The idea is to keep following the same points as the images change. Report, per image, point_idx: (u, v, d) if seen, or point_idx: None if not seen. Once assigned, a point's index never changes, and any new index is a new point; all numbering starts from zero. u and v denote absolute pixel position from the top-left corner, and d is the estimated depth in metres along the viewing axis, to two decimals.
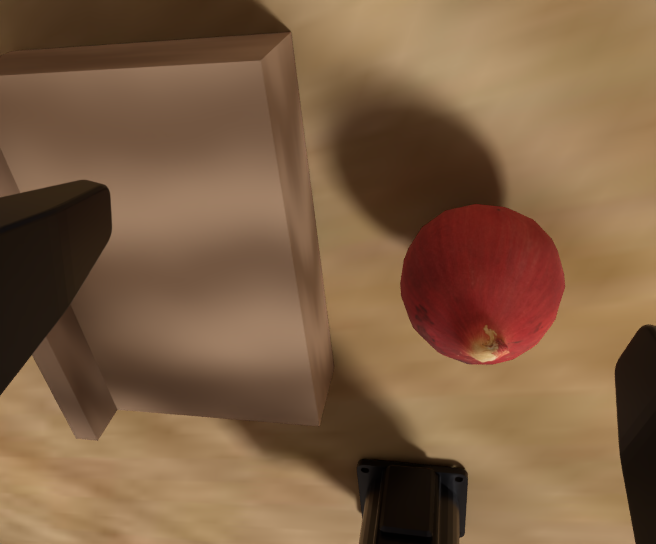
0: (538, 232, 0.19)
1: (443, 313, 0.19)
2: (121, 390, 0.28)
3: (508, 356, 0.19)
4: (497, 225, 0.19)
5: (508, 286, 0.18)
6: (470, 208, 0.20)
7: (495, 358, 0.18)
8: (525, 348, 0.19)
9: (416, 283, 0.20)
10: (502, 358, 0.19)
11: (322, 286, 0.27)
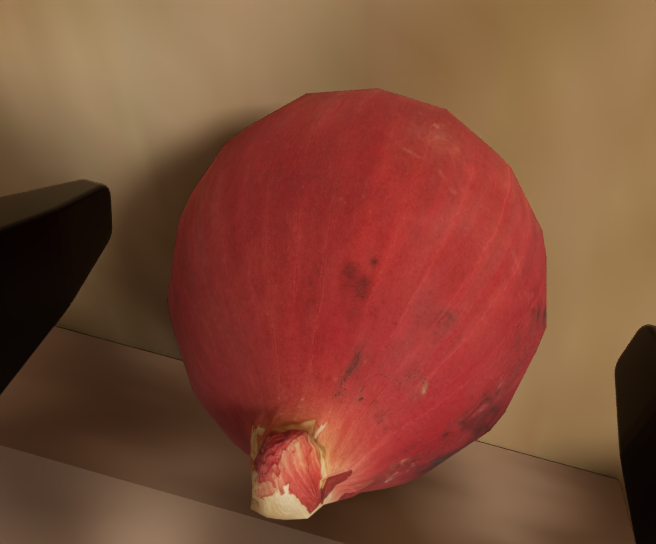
0: (227, 143, 0.08)
1: None
2: None
3: (420, 388, 0.06)
4: None
5: (208, 312, 0.07)
6: None
7: (290, 493, 0.05)
8: (424, 329, 0.06)
9: None
10: (419, 405, 0.06)
11: None
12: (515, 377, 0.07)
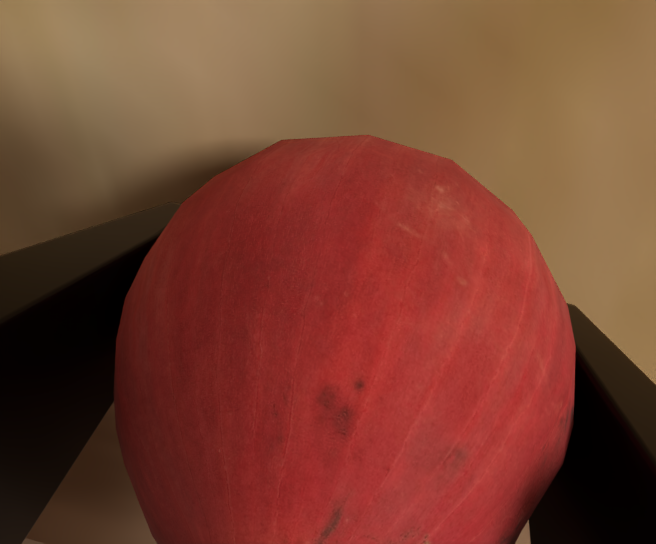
0: (184, 204, 0.07)
1: None
2: None
3: None
4: None
5: (148, 435, 0.05)
6: None
7: None
8: (425, 474, 0.05)
9: None
10: None
11: None
12: (538, 499, 0.06)
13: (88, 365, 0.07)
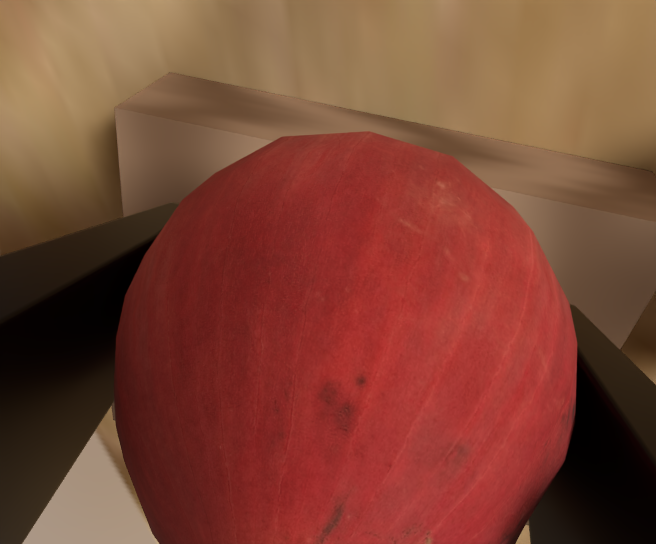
0: (184, 200, 0.07)
1: None
2: None
3: None
4: None
5: (149, 432, 0.05)
6: None
7: None
8: (427, 470, 0.05)
9: None
10: None
11: (488, 140, 0.19)
12: (540, 496, 0.06)
13: (88, 365, 0.07)
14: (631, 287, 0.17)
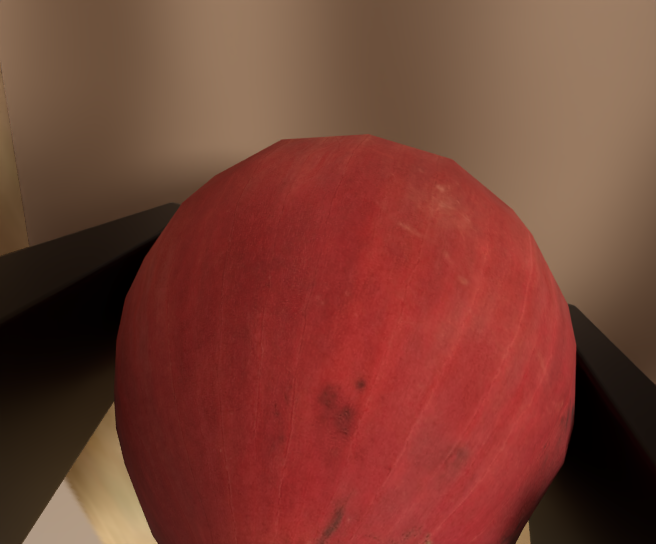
0: (184, 203, 0.07)
1: None
2: None
3: None
4: None
5: (150, 435, 0.05)
6: None
7: None
8: (427, 473, 0.05)
9: None
10: None
11: None
12: (539, 498, 0.06)
13: (88, 365, 0.07)
14: None
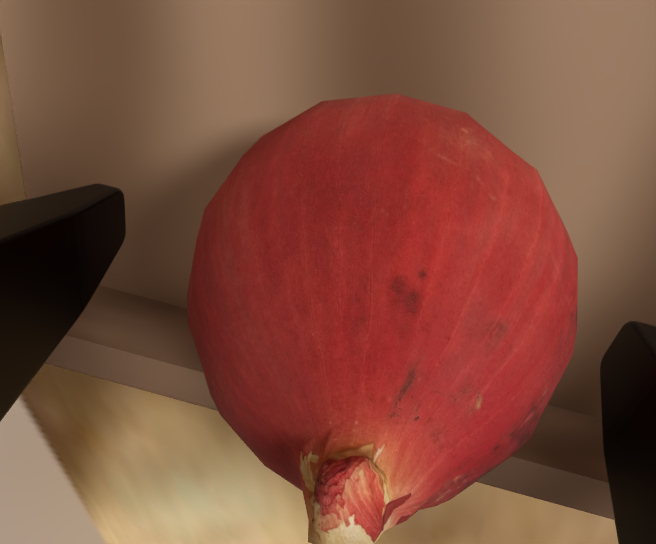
0: (245, 156, 0.08)
1: (293, 484, 0.07)
2: None
3: (474, 403, 0.06)
4: None
5: (244, 335, 0.06)
6: None
7: (355, 524, 0.05)
8: (477, 342, 0.06)
9: None
10: (473, 420, 0.06)
11: None
12: (555, 383, 0.07)
13: None
14: None
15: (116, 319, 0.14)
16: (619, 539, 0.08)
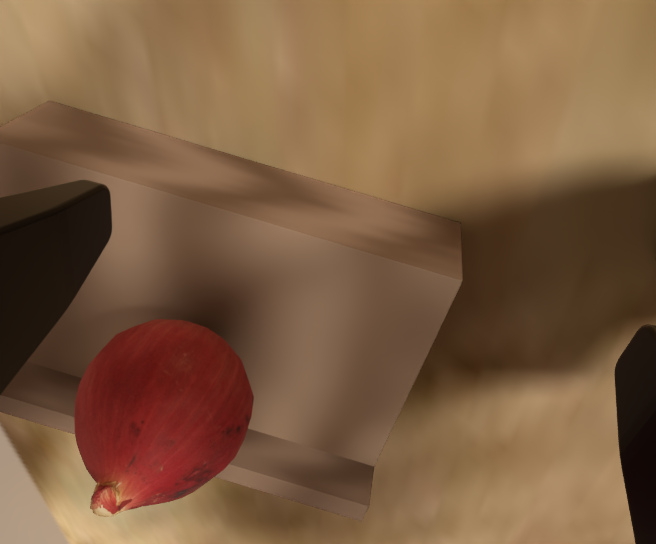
0: (101, 351, 0.18)
1: None
2: (347, 447, 0.25)
3: (159, 468, 0.17)
4: None
5: (83, 434, 0.17)
6: None
7: (103, 507, 0.16)
8: (160, 447, 0.16)
9: None
10: (160, 474, 0.17)
11: (324, 185, 0.22)
12: (218, 458, 0.18)
13: None
14: (421, 323, 0.20)
15: (59, 392, 0.25)
16: None
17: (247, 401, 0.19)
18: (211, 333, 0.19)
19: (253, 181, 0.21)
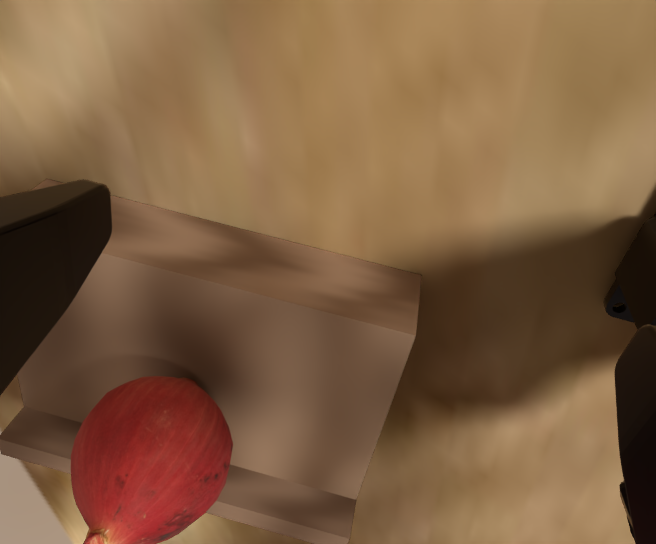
0: (93, 409, 0.21)
1: None
2: (329, 483, 0.27)
3: (143, 516, 0.19)
4: None
5: (77, 486, 0.19)
6: None
7: None
8: (143, 497, 0.19)
9: None
10: (143, 521, 0.19)
11: (294, 245, 0.24)
12: (197, 503, 0.20)
13: None
14: (383, 372, 0.22)
15: (65, 438, 0.27)
16: None
17: (225, 450, 0.21)
18: (192, 388, 0.22)
19: (228, 247, 0.23)
